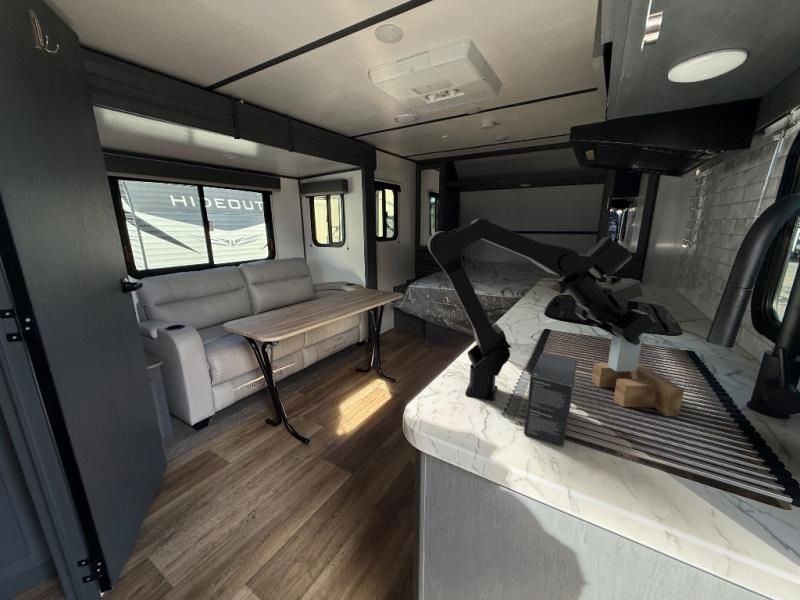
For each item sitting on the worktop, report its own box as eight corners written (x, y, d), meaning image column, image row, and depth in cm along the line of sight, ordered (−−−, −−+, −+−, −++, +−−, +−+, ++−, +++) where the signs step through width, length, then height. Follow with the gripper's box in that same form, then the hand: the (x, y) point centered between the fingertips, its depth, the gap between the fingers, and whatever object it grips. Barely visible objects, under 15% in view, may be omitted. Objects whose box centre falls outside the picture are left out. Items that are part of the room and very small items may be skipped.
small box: (564, 449, 54) (572, 386, 51) (523, 435, 58) (528, 376, 55) (570, 412, 65) (577, 358, 62) (535, 402, 68) (540, 351, 66)
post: (616, 371, 69) (624, 319, 67) (607, 365, 72) (615, 316, 70) (636, 371, 69) (645, 319, 67) (627, 365, 72) (635, 315, 70)
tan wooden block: (633, 415, 64) (638, 388, 62) (584, 375, 81) (587, 353, 80) (678, 416, 63) (684, 389, 62) (619, 375, 81) (623, 354, 80)
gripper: (653, 272, 57) (702, 329, 59) (593, 261, 75) (633, 306, 77) (603, 314, 59) (653, 368, 61) (557, 294, 77) (596, 336, 79)
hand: (632, 341), depth 69 cm, fingers closed on post, 3 cm apart
